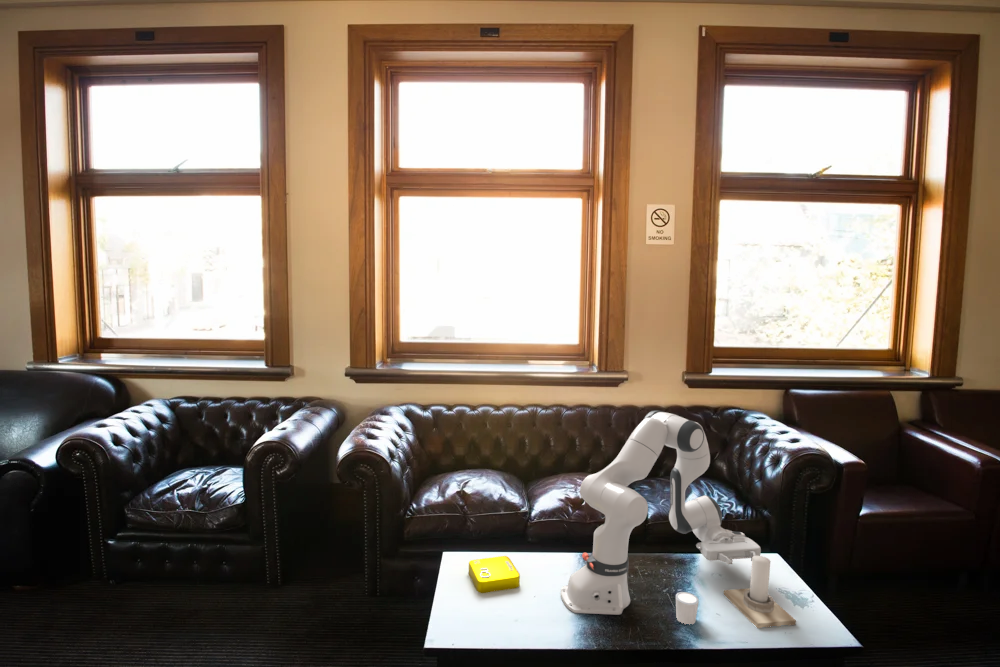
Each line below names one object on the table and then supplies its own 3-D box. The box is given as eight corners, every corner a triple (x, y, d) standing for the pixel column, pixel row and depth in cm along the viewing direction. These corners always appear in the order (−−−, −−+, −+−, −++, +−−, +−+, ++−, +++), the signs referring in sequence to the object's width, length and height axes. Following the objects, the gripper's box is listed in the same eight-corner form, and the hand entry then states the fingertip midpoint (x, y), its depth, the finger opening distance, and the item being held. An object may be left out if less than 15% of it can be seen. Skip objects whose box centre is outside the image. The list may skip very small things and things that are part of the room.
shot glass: (694, 613, 173) (695, 592, 172) (700, 627, 166) (701, 605, 165) (672, 611, 173) (673, 590, 173) (676, 625, 166) (678, 603, 166)
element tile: (521, 588, 185) (521, 575, 184) (478, 595, 180) (478, 581, 180) (507, 566, 199) (507, 553, 198) (467, 571, 194) (467, 558, 194)
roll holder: (757, 628, 166) (758, 615, 166) (723, 594, 184) (724, 583, 183) (795, 624, 168) (796, 612, 168) (758, 591, 186) (759, 580, 185)
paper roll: (755, 609, 173) (759, 564, 171) (745, 600, 178) (748, 556, 177) (770, 608, 174) (774, 563, 172) (760, 599, 179) (763, 555, 177)
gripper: (694, 535, 195) (715, 554, 182) (746, 532, 199) (771, 550, 185) (693, 552, 196) (714, 572, 182) (745, 548, 199) (770, 568, 186)
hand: (743, 561), depth 184 cm, fingers open, 8 cm apart
